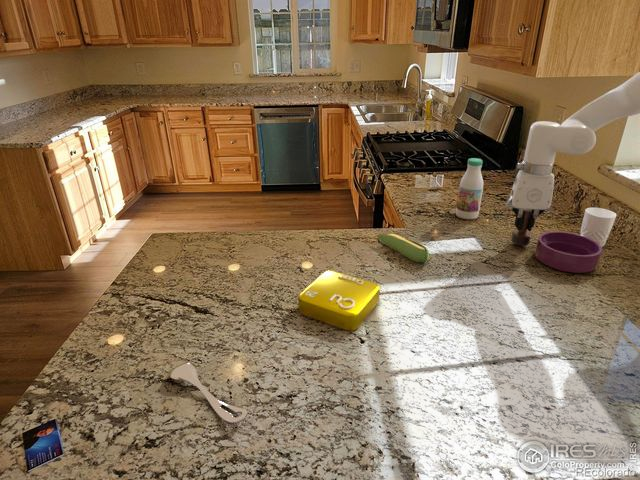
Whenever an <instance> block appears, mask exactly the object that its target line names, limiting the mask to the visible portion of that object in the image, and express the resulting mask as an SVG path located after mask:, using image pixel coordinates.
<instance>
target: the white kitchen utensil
mask: <svg viewBox="0 0 640 480" xmlns="http://www.w3.org/2000/svg"><path fill="white" fill-rule="evenodd" d="M168 377H170V378H171V379H173V380H177V381H181V382H182V381H183V382H187V383H190V384H192V385H194V386H195V387H197V388H198V389H199V390H200V392H201V393H202V395H203V396H204V397H205V399H206V400H207V401H208V403H209V404H210V406H211V408H212V409H213V410H214V411H215V413H216V414H217V415H218V416H219V417H220V418H221V419H222V420H224V421H226V422H227V423H230V424H237V423H239V422H242V421H244V420H245V419H246V418H247V416H248V410H247V409H246V408H244V407H242V406H238V405H234V404H232V403H229V402H228V403H227V402H225V401H224V400H221V399H220V398H218V397H216V396H215V395H214V394H212V393H211V392H210V391H209V390H207V388H206V387H205V386H204V385H203V384H202V382H201V381H200V378H199V376H198V369H197V366H196V364H194V363H193V362H190V361H185V362H182V363H180V364H179V365H177V366H175V367H174V368H173V369H172V370H171V371H170V372H169V374H168ZM222 406H224V407H226V408H227V409H229V410H230V411H232V412H233V413H235V414H238V413H241V415H240V416H238V417H234V414H232V413H231V412H229V411H228V410H226V409H224V408H222Z"/></svg>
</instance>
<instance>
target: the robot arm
mask: <svg viewBox="0 0 640 480" xmlns="http://www.w3.org/2000/svg"><path fill="white" fill-rule="evenodd" d="M639 114H640V71H638V72H637V73H635V75H632V77H630V78H629V79H628V80H626V81H625V82H623V83H622V84H620V85H618V86H617V87H615V88H613V89H611V90H610V91H607V92H606V93H604V94H603V95H601V96H599V97H598V98H595V99H594V100H592V101H590V102H589V103H587V104H586V105H584V106H582V107H581V108H580V109H579V110H577V111H576V112H574V113H573V114H572V115H571V116H569V117H568V118H566V119H565V120H564V121H563V122H561V123H558V122H555V121H547V120H542V121H541V120H539V121H535V122H533V123H532V124H531V126H530V128H529V132H528V136H527V141H526V146H525V151H524V154H523V159H522V161H521V162H518V163H516V169H519V170H518V172H517V174H516V176H515V178H514V182H513V185H512V187H511V192H510V195H509V198H508V200H507V201H506V202H505V204H504V207H505V209H507V210H509V211H512V212H513V213H514V214H515V215H516V216H515V219H514V227H515V229H517V230H521V227H522V223H523V217H522V216H523V215H522V214H523V210H524V209H530V210H531V215H530V219H529V223H528V228H527V231H529V232H532V229H533V228H534V226H535V222H536V220H537V219H538V217H539V216H541V215H543V213H547V212H550V211H552V209H553V208H552V202H553V201H552V200H553V197H554V196H553V195H554V189H555V188H554V187H555V174H554V173H552V171H553V169H554V168H553V167H554V163H555V160H556V155H557V152H558V153H563V154H567V155H573V156H580V155H584V154H587V153H588V152H590V151H591V150H592V149H594V147H595V146H596V143H597V136H596V133H595V132H596V131H598V130H600V129H601V128H603V127H605V126H606V125H608V124H609V123H612V122H614V121H616V120H620V119H623V118H626V117H627V118H628V117H632V116H635V115H639Z"/></svg>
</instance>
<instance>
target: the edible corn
mask: <svg viewBox="0 0 640 480" xmlns="http://www.w3.org/2000/svg"><path fill="white" fill-rule="evenodd" d="M376 237H377V239H378V240H379V241H380V243H381V244H384V245H385V246H387V247H389V248H391V249H392V250H395V252H397V253H399V254H400V255H402V256H403V257H406V259H409V260H410V261H412V262H414V263H423V262H426V261H428V260H429V259H430V258H431V255H430V252H429V250H428V248H427V247H426V246H424V245H422V244H421V243H418V242H416V241H414V240H411V239H408V238H407V237H403V236H401V235H398V234H395V233H393V232H390V233H389V234H381V233H379V234H377V235H376Z"/></svg>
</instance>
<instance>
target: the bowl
mask: <svg viewBox="0 0 640 480" xmlns="http://www.w3.org/2000/svg"><path fill="white" fill-rule="evenodd" d="M602 254H603V247H601V246H600V245H599V244H598V243H597V242H595V241H594V240H592V239H590V238H587V237H585V236H582V235H580V234H579V233H578V234H577V233H574V232H568V231H560V230H559V231H556V230H554V231H546V232H542V233H541V234H540V235H538V238H537V241H536V246H535V250H534V257H536V259H537V260H538V261H539V262H541V264H543V265H545V266H548V267H550V268H554V269H555V270H559V271H563V272H568V273H576V274H584V273H590V272H592V271H595V270H596V269H597V268H598V266H599V263H600V260H601V256H602Z"/></svg>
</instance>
